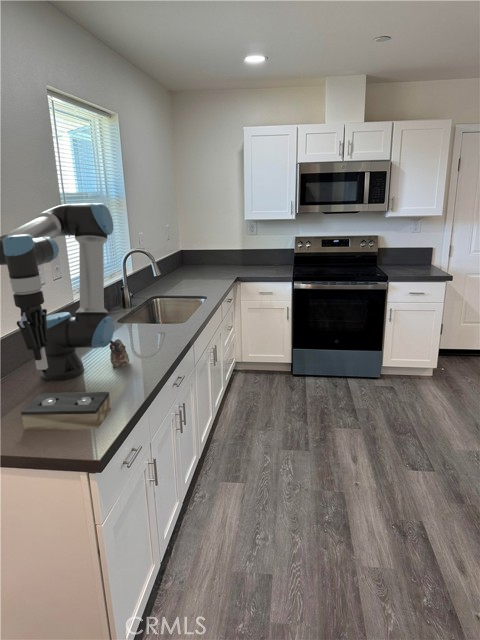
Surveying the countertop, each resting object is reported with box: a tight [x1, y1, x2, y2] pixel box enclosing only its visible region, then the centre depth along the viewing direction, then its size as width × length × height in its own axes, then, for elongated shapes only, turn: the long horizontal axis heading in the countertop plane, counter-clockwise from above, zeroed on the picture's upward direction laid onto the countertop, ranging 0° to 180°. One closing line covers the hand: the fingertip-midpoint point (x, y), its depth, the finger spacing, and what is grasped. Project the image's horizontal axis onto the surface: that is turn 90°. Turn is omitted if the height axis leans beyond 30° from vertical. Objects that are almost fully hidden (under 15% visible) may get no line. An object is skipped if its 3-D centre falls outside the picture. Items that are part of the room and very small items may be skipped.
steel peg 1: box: [42, 398, 56, 406], centre depth 131 cm, size 4×4×6 cm
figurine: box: [109, 338, 130, 368], centre depth 169 cm, size 7×7×12 cm
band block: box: [20, 391, 112, 431], centre depth 131 cm, size 12×22×6 cm, turn 88°
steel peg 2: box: [77, 397, 92, 405], centre depth 130 cm, size 4×4×6 cm
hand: (42, 368), depth 127 cm, fingers closed
